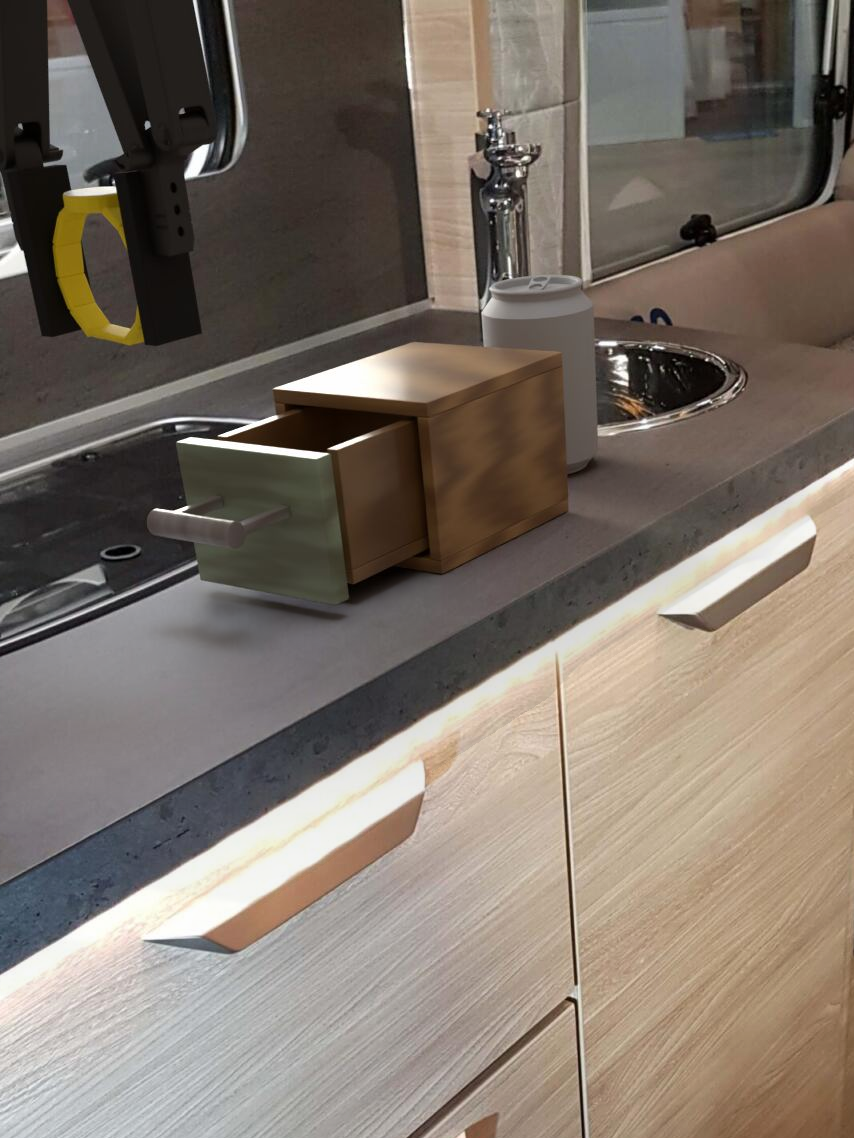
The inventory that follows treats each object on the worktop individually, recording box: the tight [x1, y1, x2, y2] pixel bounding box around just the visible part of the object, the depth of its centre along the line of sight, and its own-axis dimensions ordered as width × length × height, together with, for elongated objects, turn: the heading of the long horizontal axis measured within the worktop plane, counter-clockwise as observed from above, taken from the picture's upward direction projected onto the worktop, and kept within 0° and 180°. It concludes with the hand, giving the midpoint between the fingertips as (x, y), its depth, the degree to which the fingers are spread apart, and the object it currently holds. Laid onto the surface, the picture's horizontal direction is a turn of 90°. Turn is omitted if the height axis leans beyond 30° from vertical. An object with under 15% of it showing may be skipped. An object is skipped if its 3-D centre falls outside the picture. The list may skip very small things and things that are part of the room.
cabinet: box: [272, 341, 570, 575], centre depth 95 cm, size 14×12×10 cm
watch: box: [52, 185, 144, 347], centre depth 67 cm, size 6×3×6 cm, turn 50°
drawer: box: [146, 406, 430, 606], centre depth 88 cm, size 18×10×8 cm, turn 145°
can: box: [481, 274, 599, 475], centre depth 105 cm, size 8×8×12 cm
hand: (120, 333), depth 68 cm, fingers closed on watch, 6 cm apart
